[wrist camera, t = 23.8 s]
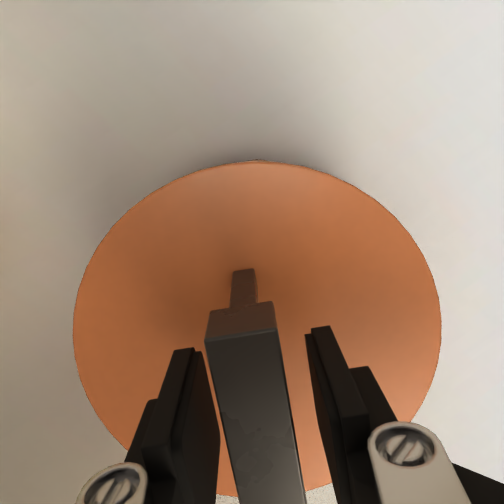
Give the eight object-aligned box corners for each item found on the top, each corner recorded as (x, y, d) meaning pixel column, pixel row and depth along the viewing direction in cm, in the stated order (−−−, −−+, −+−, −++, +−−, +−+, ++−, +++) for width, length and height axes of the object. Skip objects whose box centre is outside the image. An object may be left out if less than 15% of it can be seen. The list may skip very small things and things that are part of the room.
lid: (131, 495, 17) (73, 679, 11) (39, 195, 13) (-110, 236, 8) (436, 450, 16) (538, 617, 11) (417, 129, 13) (547, 122, 7)
